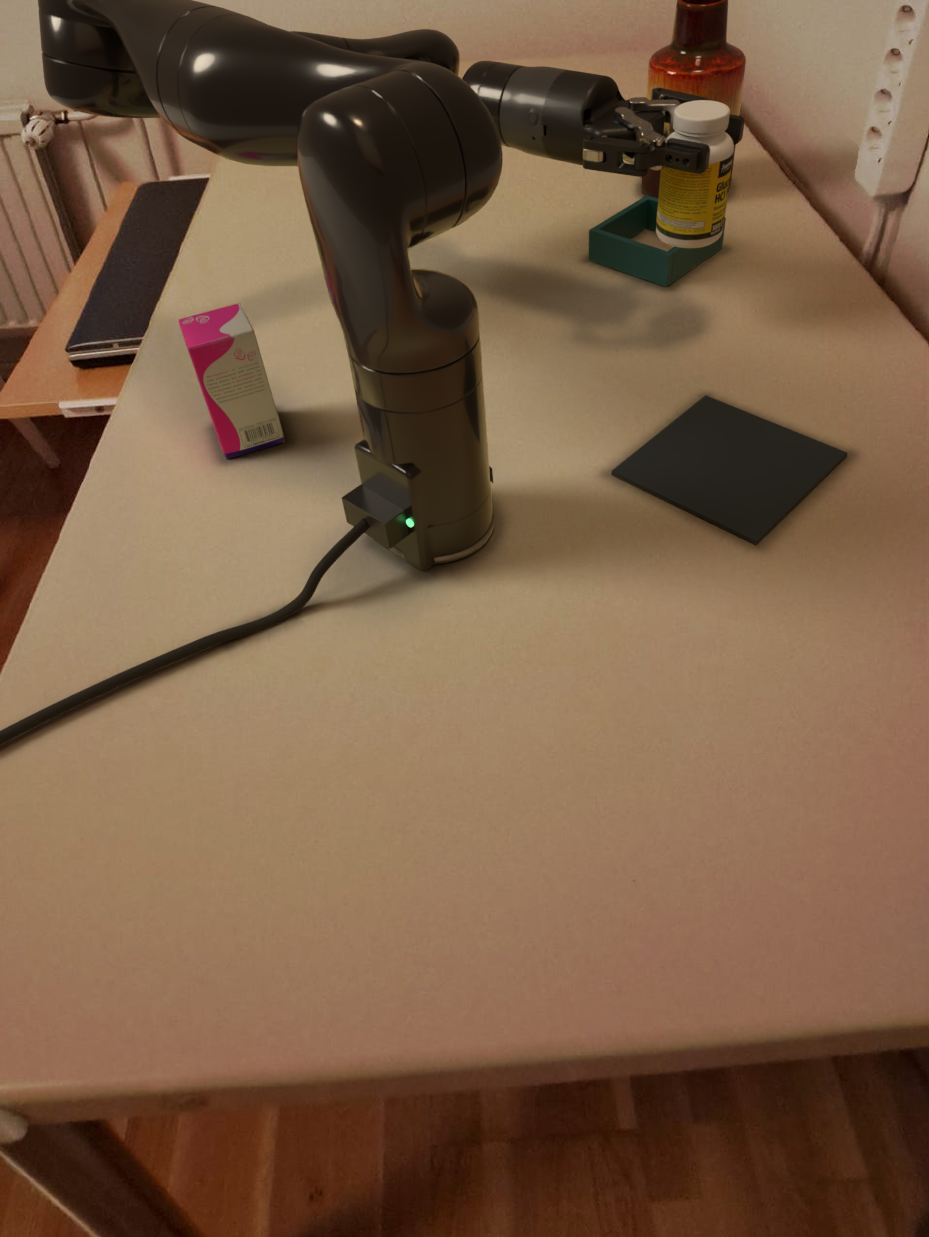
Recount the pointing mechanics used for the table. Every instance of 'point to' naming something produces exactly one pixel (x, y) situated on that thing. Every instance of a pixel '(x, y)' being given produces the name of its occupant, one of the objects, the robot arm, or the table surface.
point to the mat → (730, 467)
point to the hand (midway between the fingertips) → (724, 145)
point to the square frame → (643, 246)
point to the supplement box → (232, 379)
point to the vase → (697, 64)
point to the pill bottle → (697, 179)
